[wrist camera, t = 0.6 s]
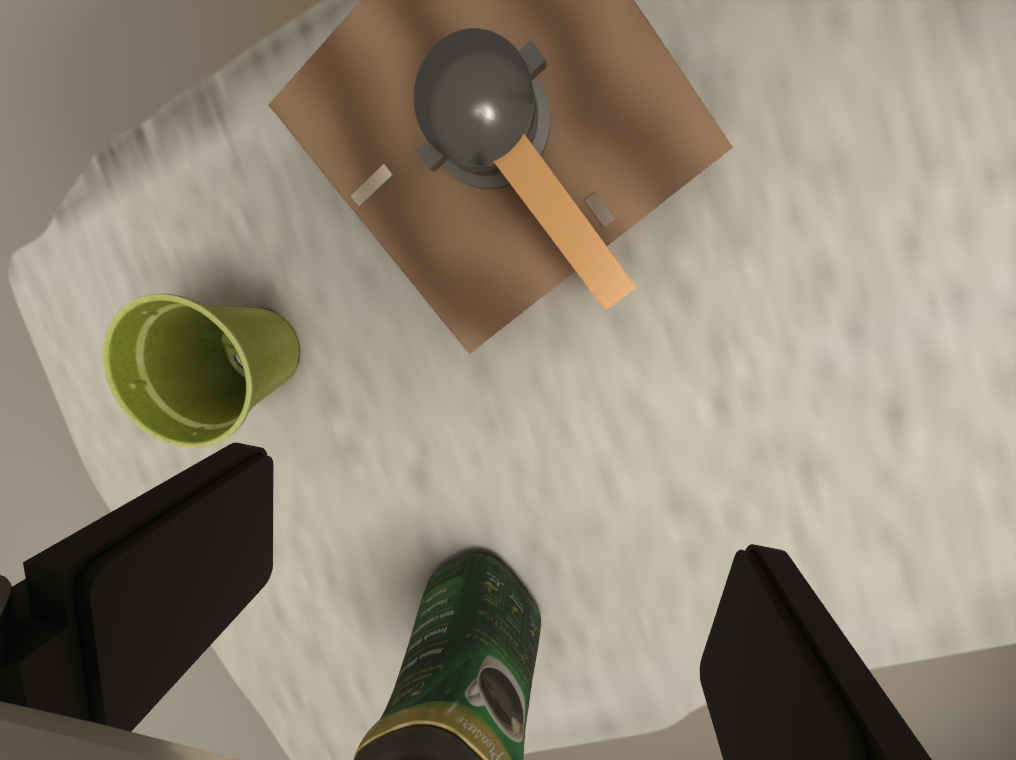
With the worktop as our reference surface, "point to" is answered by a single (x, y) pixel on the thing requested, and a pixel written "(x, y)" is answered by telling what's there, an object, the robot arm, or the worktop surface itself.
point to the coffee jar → (463, 670)
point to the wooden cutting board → (491, 199)
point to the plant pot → (194, 365)
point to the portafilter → (506, 141)
